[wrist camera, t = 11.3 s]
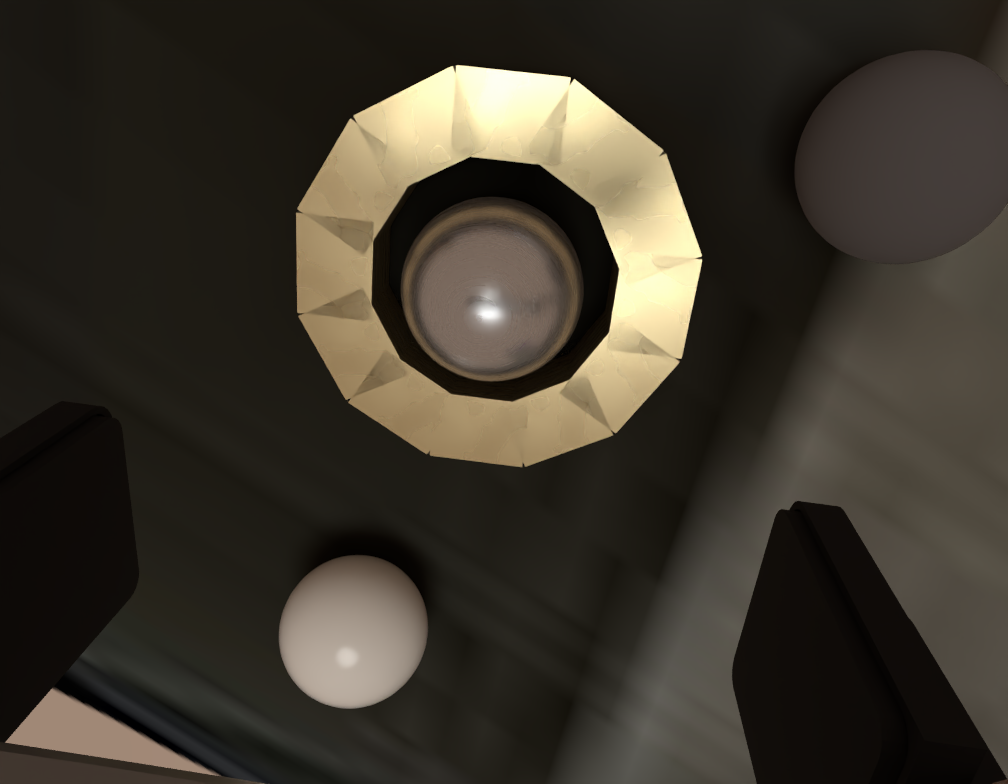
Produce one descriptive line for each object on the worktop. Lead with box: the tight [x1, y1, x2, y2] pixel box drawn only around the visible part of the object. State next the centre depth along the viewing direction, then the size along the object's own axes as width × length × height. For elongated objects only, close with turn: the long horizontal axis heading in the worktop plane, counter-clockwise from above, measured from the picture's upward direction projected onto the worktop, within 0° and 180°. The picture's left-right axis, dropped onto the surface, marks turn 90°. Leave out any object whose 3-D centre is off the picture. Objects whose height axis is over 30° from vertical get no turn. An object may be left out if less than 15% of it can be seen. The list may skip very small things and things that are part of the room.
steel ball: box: [401, 197, 584, 381], centre depth 23 cm, size 6×6×6 cm
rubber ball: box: [794, 50, 1008, 264], centre depth 20 cm, size 6×6×6 cm
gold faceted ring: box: [296, 65, 702, 467], centre depth 24 cm, size 12×12×2 cm
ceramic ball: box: [279, 555, 428, 708], centre depth 29 cm, size 6×6×6 cm
